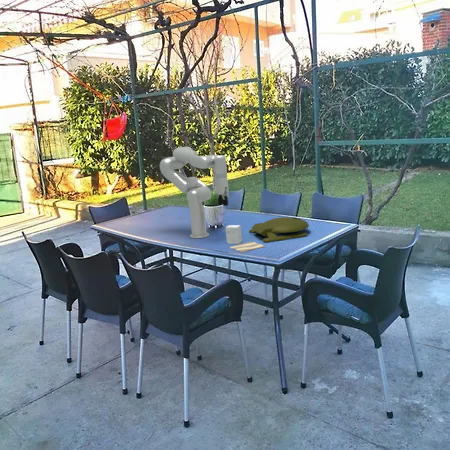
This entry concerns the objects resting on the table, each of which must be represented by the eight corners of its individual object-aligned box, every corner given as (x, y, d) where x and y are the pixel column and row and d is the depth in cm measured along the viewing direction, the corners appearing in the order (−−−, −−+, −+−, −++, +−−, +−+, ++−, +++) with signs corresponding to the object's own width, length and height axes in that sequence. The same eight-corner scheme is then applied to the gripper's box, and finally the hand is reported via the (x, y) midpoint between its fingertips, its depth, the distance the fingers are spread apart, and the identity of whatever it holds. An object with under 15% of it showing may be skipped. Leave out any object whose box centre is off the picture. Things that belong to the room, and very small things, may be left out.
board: (229, 247, 280) (229, 246, 279) (251, 242, 287) (251, 241, 287) (242, 252, 268) (241, 251, 268) (265, 246, 275) (265, 245, 275)
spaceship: (264, 243, 283) (263, 228, 281) (248, 232, 312) (247, 218, 310) (317, 235, 292) (317, 220, 289) (297, 225, 321) (296, 211, 318)
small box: (242, 241, 290) (241, 225, 288) (238, 244, 285) (237, 227, 283) (230, 241, 293) (228, 224, 291) (226, 243, 288) (225, 227, 286)
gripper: (208, 175, 294) (211, 204, 298) (222, 177, 280) (225, 207, 284) (219, 174, 298) (221, 202, 302) (233, 176, 283) (235, 205, 287)
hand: (223, 204), depth 293 cm, fingers open, 5 cm apart
